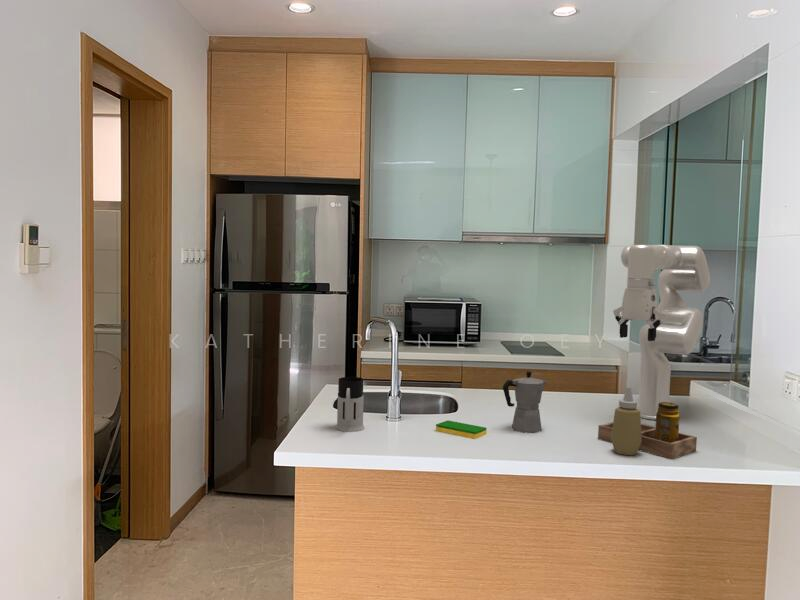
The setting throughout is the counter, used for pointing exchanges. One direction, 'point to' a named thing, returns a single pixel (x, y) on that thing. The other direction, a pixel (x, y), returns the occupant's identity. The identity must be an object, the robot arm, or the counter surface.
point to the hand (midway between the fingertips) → (637, 339)
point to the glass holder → (350, 404)
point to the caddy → (655, 441)
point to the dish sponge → (461, 429)
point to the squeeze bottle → (626, 426)
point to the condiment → (667, 422)
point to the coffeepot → (526, 402)
